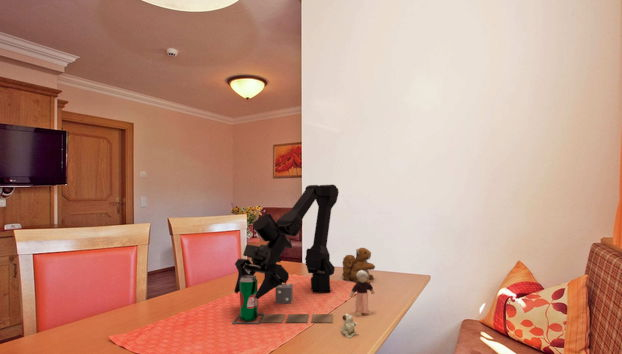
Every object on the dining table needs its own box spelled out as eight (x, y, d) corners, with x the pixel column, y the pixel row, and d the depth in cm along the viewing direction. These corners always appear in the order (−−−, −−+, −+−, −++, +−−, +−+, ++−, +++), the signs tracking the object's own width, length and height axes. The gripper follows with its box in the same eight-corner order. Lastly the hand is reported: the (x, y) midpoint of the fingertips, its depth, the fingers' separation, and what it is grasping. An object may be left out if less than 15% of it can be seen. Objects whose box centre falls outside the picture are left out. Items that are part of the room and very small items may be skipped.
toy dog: (350, 339, 81) (349, 318, 82) (337, 332, 85) (336, 312, 85) (360, 335, 83) (360, 314, 84) (347, 329, 87) (347, 309, 88)
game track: (332, 314, 98) (332, 313, 98) (332, 324, 91) (332, 323, 91) (239, 314, 100) (239, 313, 100) (232, 324, 92) (232, 323, 92)
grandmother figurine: (356, 318, 94) (355, 273, 95) (348, 314, 98) (347, 270, 99) (378, 313, 98) (376, 269, 99) (370, 309, 101) (368, 267, 102)
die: (292, 298, 114) (292, 283, 114) (290, 303, 109) (290, 287, 109) (278, 298, 114) (277, 283, 114) (275, 303, 109) (275, 287, 109)
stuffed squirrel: (370, 284, 129) (369, 250, 130) (336, 281, 135) (336, 248, 136) (377, 278, 138) (376, 246, 139) (345, 275, 144) (344, 245, 145)
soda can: (249, 323, 92) (249, 279, 93) (236, 320, 95) (235, 277, 96) (261, 317, 97) (261, 275, 97) (248, 314, 99) (248, 273, 100)
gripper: (239, 232, 106) (209, 274, 97) (281, 236, 95) (251, 284, 85) (258, 254, 112) (231, 295, 103) (300, 259, 100) (274, 307, 91)
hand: (245, 295), depth 95 cm, fingers open, 9 cm apart
